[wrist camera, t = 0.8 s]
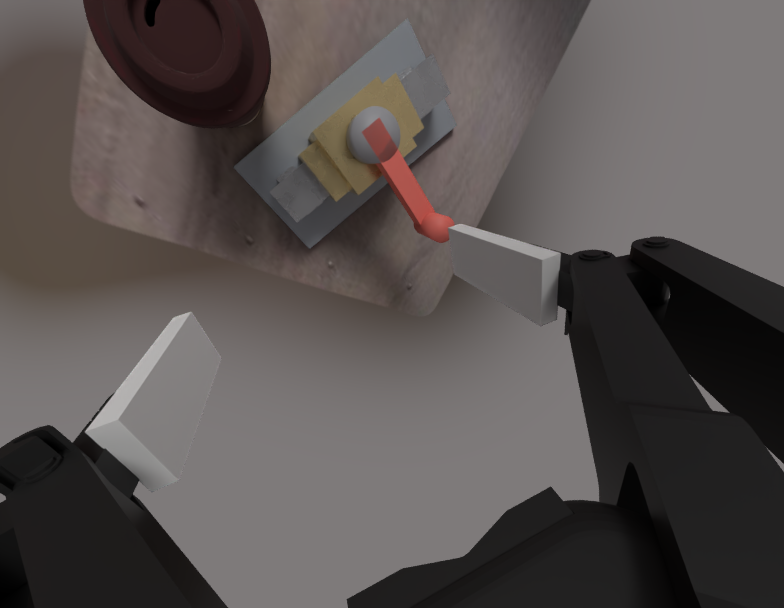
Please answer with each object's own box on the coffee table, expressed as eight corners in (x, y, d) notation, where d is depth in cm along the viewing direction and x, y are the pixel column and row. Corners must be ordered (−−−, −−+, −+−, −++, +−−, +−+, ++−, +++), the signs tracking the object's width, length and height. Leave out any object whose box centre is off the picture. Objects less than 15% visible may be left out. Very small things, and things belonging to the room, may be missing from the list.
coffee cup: (295, 114, 33) (300, 79, 20) (217, 158, 32) (170, 151, 19) (233, 3, 28) (184, -144, 15) (139, 52, 27) (3, -55, 14)
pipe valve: (409, 52, 33) (436, 25, 27) (438, 113, 36) (468, 102, 30) (261, 178, 33) (255, 180, 27) (304, 226, 37) (308, 237, 31)
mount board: (404, 22, 32) (407, 18, 31) (452, 126, 38) (456, 125, 37) (234, 167, 33) (233, 167, 32) (309, 247, 39) (309, 248, 38)
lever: (336, 132, 27) (347, 123, 22) (372, 101, 27) (390, 86, 22) (411, 241, 34) (432, 253, 29) (440, 217, 34) (465, 225, 29)
